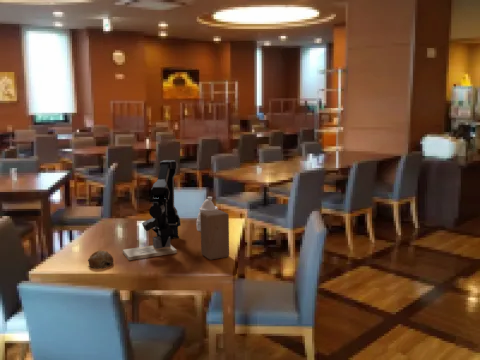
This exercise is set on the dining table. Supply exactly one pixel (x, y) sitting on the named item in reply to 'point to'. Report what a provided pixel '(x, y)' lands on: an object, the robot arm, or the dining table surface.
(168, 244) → the block
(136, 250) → the board
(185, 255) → the dining table surface
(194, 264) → the dining table surface
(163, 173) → the robot arm
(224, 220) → the wooden block
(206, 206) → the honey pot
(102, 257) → the brown dome
